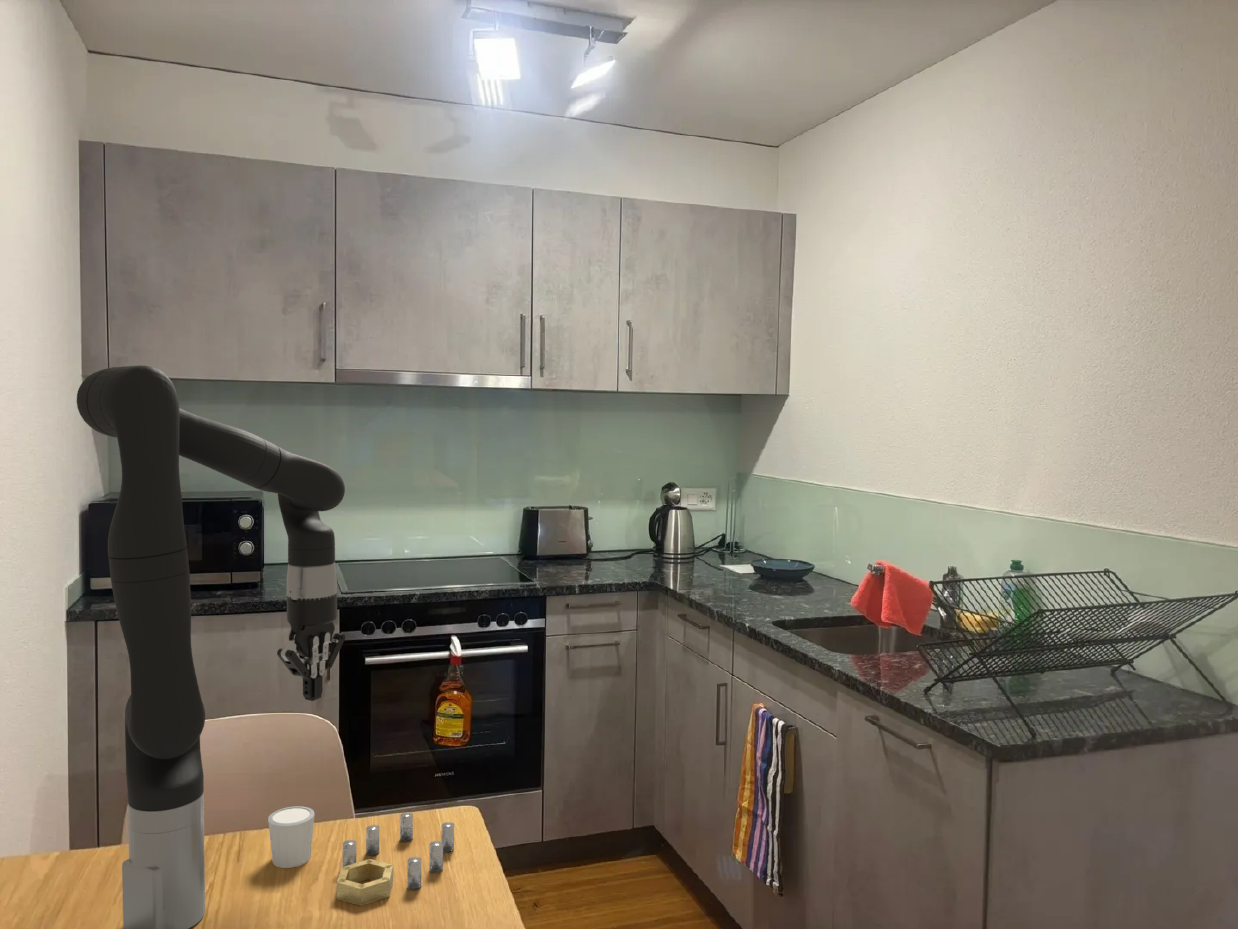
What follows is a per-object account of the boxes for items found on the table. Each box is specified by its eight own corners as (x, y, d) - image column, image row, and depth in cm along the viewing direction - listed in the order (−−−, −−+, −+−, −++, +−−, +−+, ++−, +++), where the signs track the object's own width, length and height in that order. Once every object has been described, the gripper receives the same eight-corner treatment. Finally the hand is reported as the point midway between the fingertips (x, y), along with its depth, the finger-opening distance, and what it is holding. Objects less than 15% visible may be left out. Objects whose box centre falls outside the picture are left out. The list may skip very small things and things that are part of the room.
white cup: (299, 872, 138) (299, 827, 138) (258, 867, 139) (258, 822, 139) (323, 851, 145) (323, 808, 144) (283, 846, 146) (283, 803, 146)
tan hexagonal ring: (372, 909, 128) (372, 892, 128) (324, 895, 132) (324, 879, 132) (405, 884, 135) (405, 868, 135) (358, 872, 139) (358, 856, 138)
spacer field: (415, 891, 133) (416, 864, 133) (339, 870, 139) (339, 844, 139) (467, 850, 146) (467, 826, 145) (395, 832, 151) (395, 809, 151)
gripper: (323, 582, 152) (324, 684, 153) (261, 596, 140) (263, 707, 141) (359, 586, 148) (359, 691, 150) (298, 602, 137) (299, 715, 138)
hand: (312, 699), depth 145 cm, fingers closed
